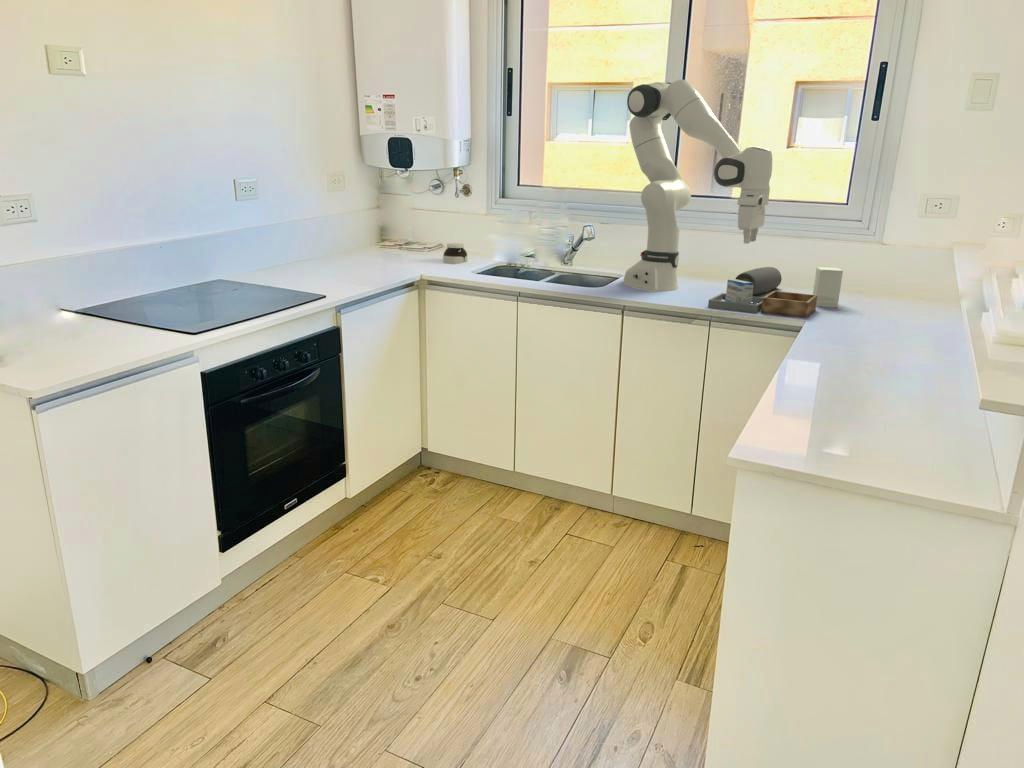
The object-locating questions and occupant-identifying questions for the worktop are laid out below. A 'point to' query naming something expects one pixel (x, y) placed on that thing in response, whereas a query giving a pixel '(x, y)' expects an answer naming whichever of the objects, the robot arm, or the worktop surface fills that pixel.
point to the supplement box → (827, 286)
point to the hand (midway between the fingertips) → (749, 242)
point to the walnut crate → (789, 304)
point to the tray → (735, 304)
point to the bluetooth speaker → (762, 279)
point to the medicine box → (739, 291)
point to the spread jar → (455, 254)
